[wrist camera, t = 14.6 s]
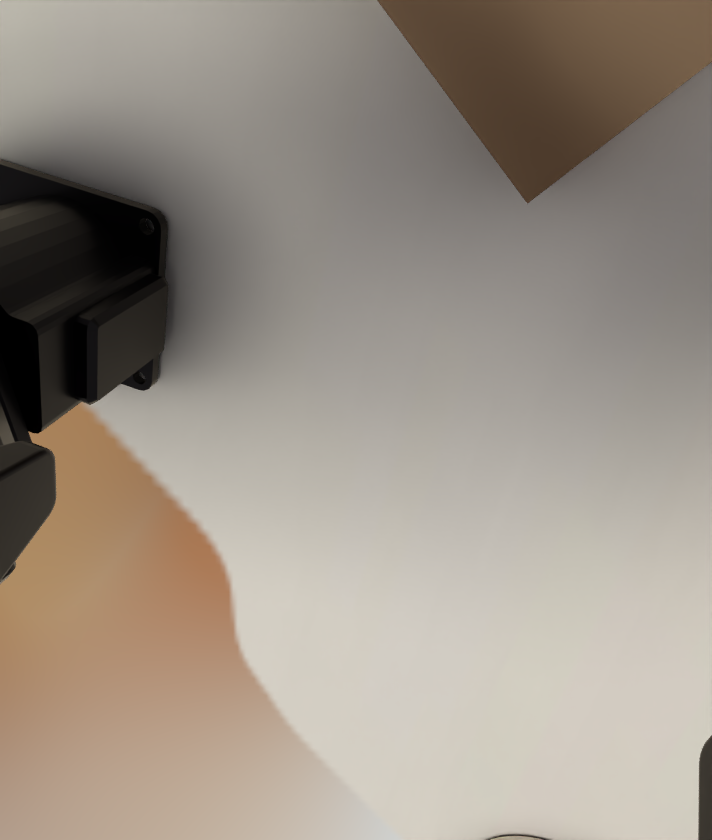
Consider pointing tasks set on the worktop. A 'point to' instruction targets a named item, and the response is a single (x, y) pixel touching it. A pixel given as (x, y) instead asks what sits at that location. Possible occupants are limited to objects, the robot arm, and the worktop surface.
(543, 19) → the base
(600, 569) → the worktop surface
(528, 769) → the worktop surface
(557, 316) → the worktop surface
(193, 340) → the worktop surface
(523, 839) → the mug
